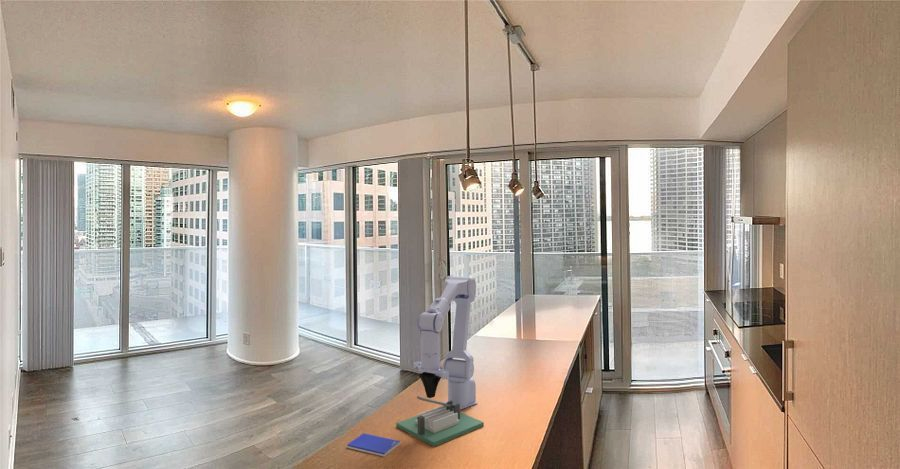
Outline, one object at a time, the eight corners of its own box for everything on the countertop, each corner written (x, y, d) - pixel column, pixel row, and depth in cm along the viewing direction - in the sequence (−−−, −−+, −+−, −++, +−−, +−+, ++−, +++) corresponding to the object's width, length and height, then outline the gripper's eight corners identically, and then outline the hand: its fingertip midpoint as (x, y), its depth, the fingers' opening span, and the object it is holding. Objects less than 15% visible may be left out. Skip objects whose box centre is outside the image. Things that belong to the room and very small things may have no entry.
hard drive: (400, 440, 136) (364, 432, 141) (384, 452, 128) (347, 444, 133) (400, 445, 136) (364, 437, 141) (384, 458, 128) (347, 449, 133)
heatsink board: (445, 409, 160) (445, 391, 160) (483, 426, 147) (483, 406, 147) (396, 426, 147) (396, 407, 147) (433, 446, 133) (433, 425, 133)
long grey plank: (451, 407, 151) (452, 404, 151) (455, 408, 150) (456, 405, 150) (416, 398, 142) (417, 395, 142) (420, 400, 140) (421, 397, 141)
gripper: (405, 350, 147) (405, 393, 147) (435, 359, 136) (436, 407, 136) (423, 346, 151) (423, 388, 152) (453, 355, 141) (454, 400, 141)
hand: (430, 396), depth 144 cm, fingers closed
